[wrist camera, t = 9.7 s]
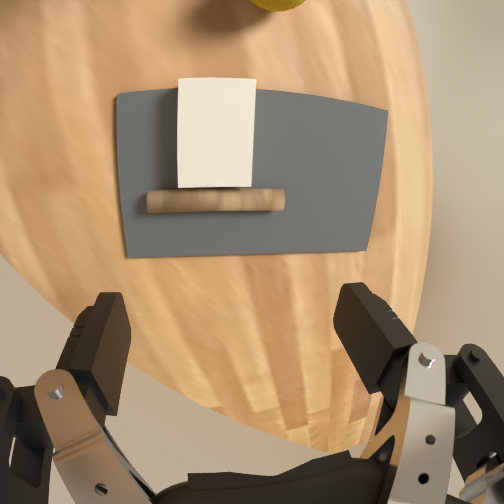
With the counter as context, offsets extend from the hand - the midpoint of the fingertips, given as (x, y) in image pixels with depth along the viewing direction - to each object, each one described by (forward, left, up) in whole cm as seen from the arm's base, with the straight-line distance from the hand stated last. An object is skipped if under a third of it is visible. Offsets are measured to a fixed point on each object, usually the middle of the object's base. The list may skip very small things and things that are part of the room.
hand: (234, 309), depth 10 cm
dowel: (+1, 0, -18) cm, 18 cm away
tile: (-1, 0, -16) cm, 16 cm away
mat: (-1, +4, -18) cm, 18 cm away
